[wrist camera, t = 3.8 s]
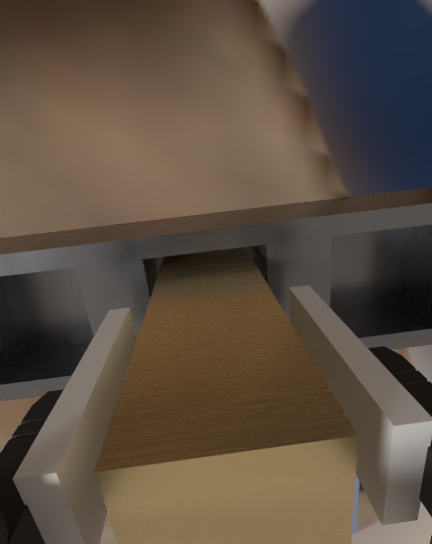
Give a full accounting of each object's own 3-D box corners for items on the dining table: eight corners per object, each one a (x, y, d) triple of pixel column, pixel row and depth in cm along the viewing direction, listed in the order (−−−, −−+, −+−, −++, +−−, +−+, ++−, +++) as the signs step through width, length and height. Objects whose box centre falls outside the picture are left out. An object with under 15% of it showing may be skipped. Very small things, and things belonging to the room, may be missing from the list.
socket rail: (-3, 357, 18) (-53, 408, 15) (-50, 244, 16) (-124, 269, 12) (423, 303, 19) (479, 338, 15) (439, 186, 17) (510, 193, 13)
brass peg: (165, 251, 16) (94, 472, 5) (242, 242, 16) (358, 435, 5) (177, 320, 17) (143, 620, 6) (247, 311, 17) (348, 589, 6)
